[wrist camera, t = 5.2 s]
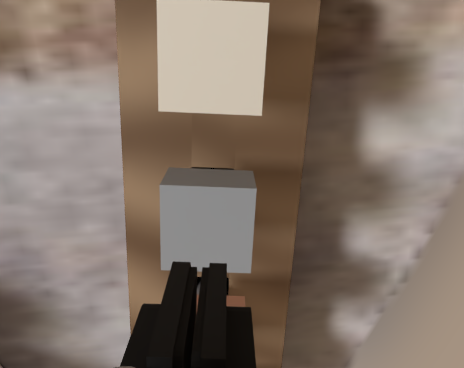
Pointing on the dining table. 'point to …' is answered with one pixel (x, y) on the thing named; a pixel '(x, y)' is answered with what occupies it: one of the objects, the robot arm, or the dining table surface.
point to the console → (219, 159)
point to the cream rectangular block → (211, 56)
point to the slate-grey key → (207, 218)
